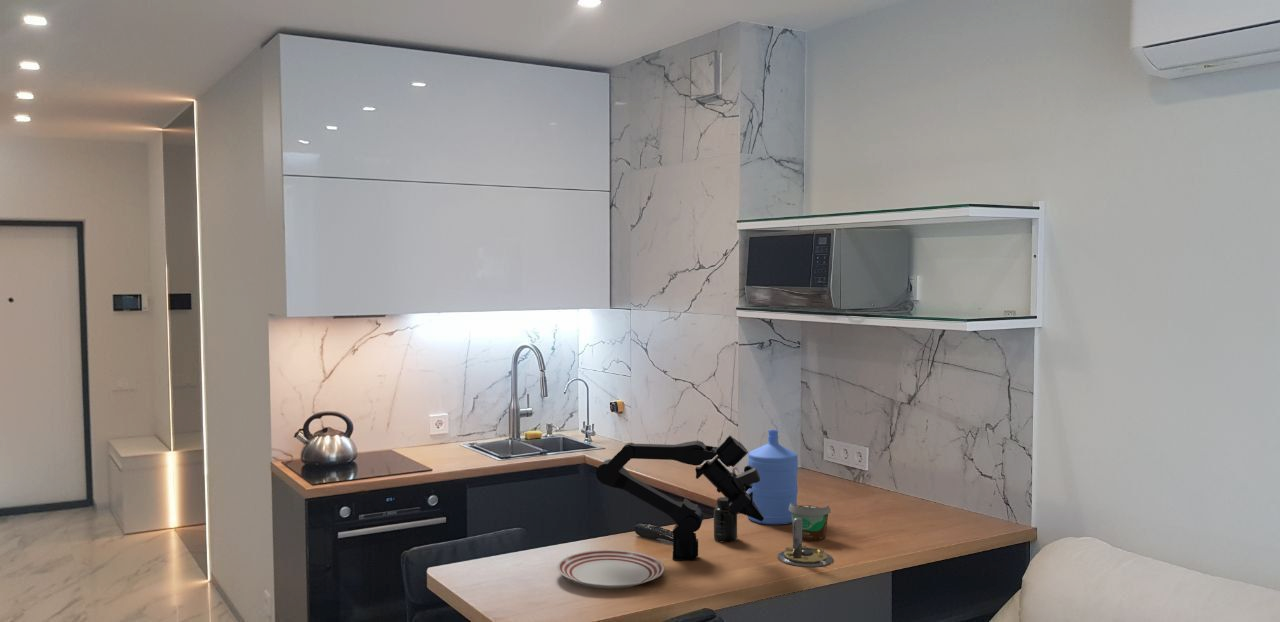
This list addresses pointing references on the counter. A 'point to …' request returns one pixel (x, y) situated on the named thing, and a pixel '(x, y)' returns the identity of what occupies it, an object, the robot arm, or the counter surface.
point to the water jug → (774, 481)
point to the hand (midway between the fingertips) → (762, 519)
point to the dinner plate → (610, 568)
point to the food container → (811, 521)
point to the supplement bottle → (724, 522)
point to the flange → (805, 552)
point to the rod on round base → (796, 551)
